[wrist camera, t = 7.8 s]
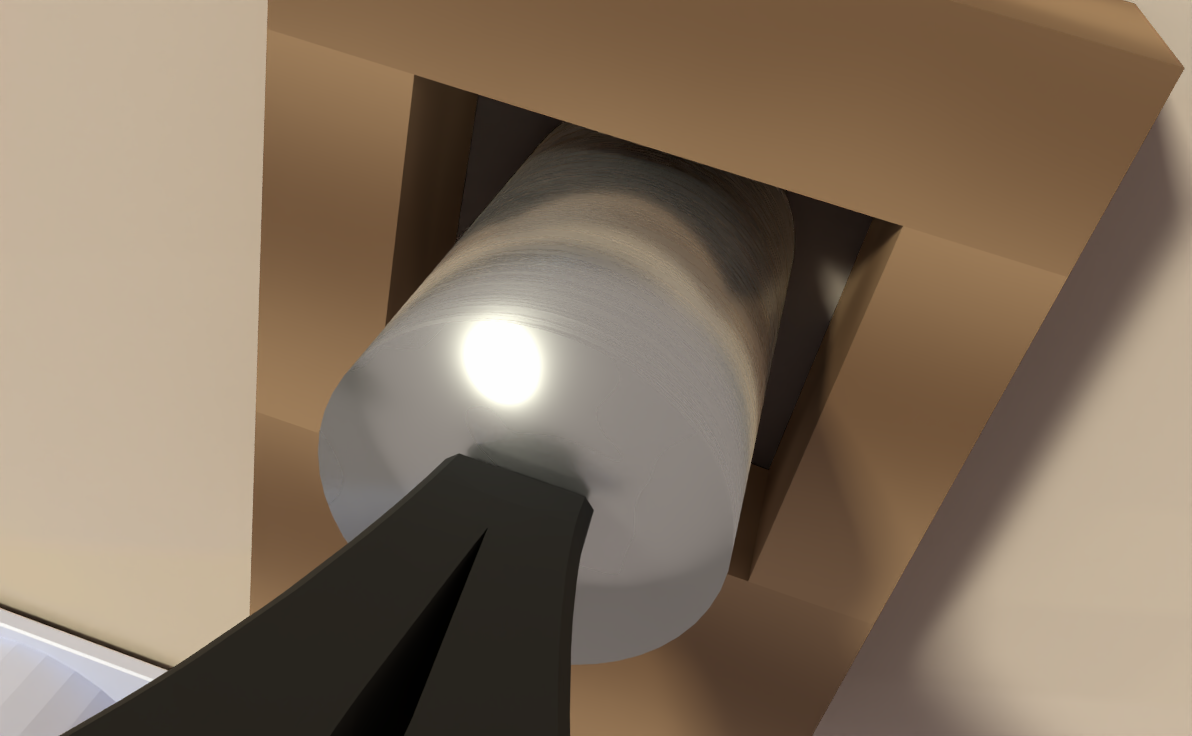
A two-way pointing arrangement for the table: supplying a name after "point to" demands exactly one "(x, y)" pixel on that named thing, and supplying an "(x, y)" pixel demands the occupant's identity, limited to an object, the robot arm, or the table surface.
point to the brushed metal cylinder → (588, 371)
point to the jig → (753, 150)
